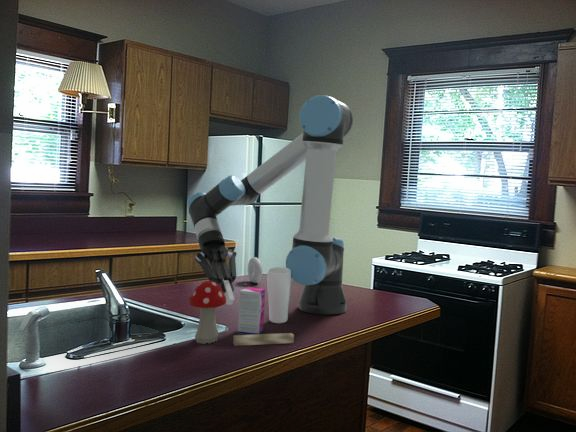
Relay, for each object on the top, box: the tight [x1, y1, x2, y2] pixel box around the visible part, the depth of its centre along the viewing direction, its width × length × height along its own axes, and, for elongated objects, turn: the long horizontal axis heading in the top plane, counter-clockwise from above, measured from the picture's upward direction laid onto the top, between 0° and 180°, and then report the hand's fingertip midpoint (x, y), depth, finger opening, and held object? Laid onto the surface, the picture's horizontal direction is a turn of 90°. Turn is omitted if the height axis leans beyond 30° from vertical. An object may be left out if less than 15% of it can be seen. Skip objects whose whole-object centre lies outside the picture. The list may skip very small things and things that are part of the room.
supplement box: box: [237, 286, 266, 335], centre depth 151 cm, size 6×6×12 cm
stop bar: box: [232, 332, 295, 347], centre depth 142 cm, size 15×2×2 cm, turn 106°
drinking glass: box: [266, 266, 292, 324], centre depth 162 cm, size 7×7×15 cm
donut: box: [247, 256, 263, 284], centre depth 220 cm, size 10×4×10 cm, turn 23°
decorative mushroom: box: [189, 280, 226, 345], centre depth 142 cm, size 10×9×15 cm
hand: (230, 302), depth 161 cm, fingers closed
